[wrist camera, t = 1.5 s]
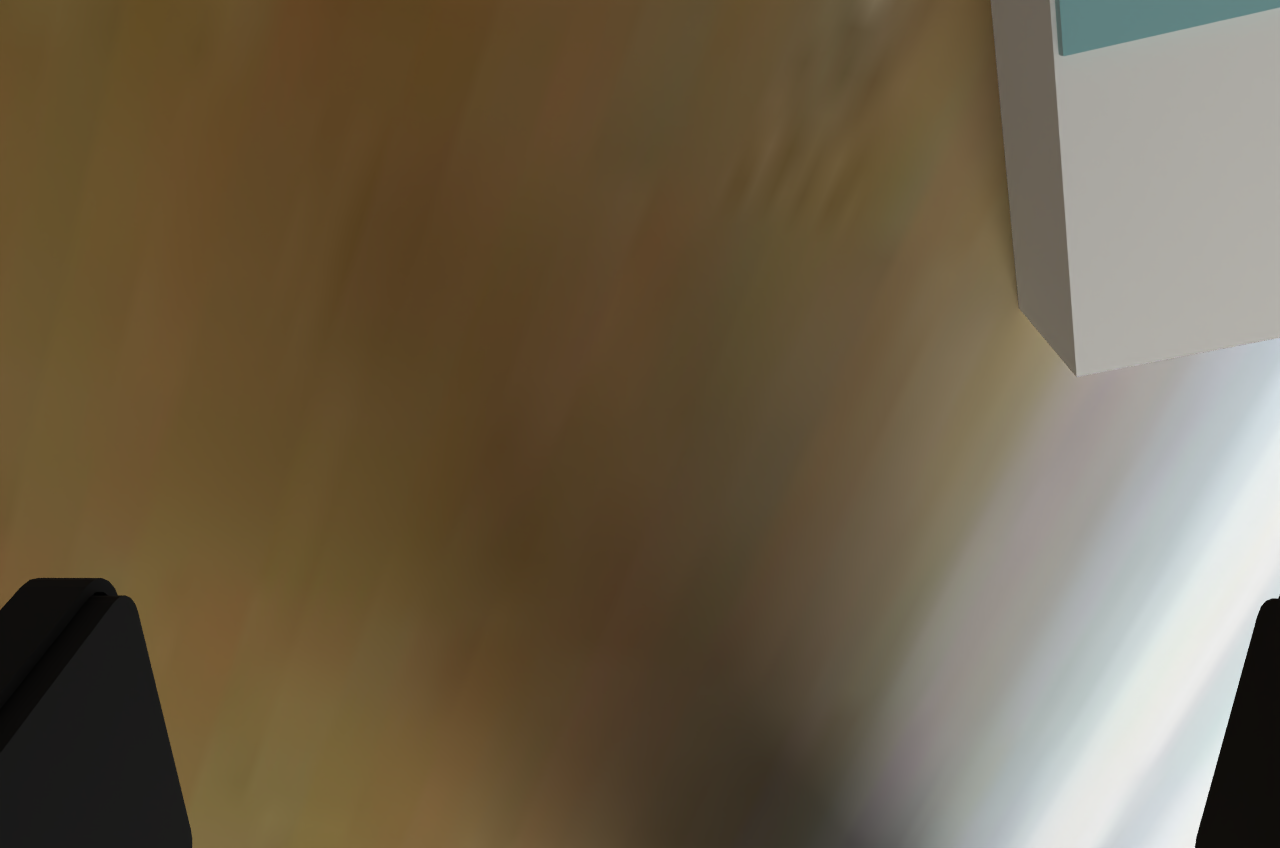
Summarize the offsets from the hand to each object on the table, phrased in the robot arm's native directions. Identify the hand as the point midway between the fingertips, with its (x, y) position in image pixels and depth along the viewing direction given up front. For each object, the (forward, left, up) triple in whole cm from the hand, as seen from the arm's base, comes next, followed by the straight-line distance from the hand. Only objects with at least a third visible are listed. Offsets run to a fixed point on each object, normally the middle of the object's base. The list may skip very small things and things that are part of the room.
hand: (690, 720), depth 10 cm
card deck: (-1, -11, -22) cm, 25 cm away
